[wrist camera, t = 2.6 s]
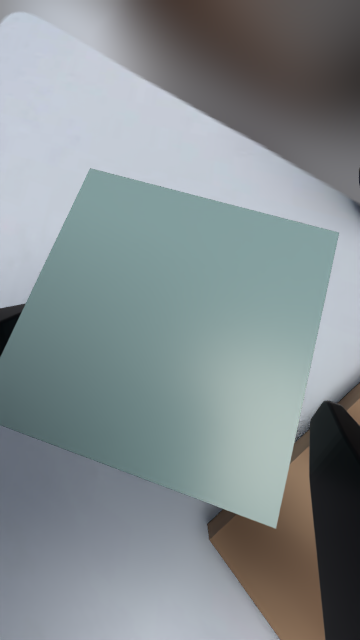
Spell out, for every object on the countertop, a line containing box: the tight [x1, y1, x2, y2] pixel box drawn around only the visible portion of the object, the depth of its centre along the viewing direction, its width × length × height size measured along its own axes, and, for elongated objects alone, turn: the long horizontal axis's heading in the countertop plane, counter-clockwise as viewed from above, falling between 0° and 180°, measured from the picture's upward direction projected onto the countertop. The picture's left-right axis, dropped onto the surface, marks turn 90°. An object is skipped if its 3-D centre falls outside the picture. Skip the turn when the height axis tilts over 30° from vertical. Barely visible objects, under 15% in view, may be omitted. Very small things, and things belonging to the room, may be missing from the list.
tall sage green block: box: [0, 168, 339, 529], centre depth 11 cm, size 5×5×12 cm
